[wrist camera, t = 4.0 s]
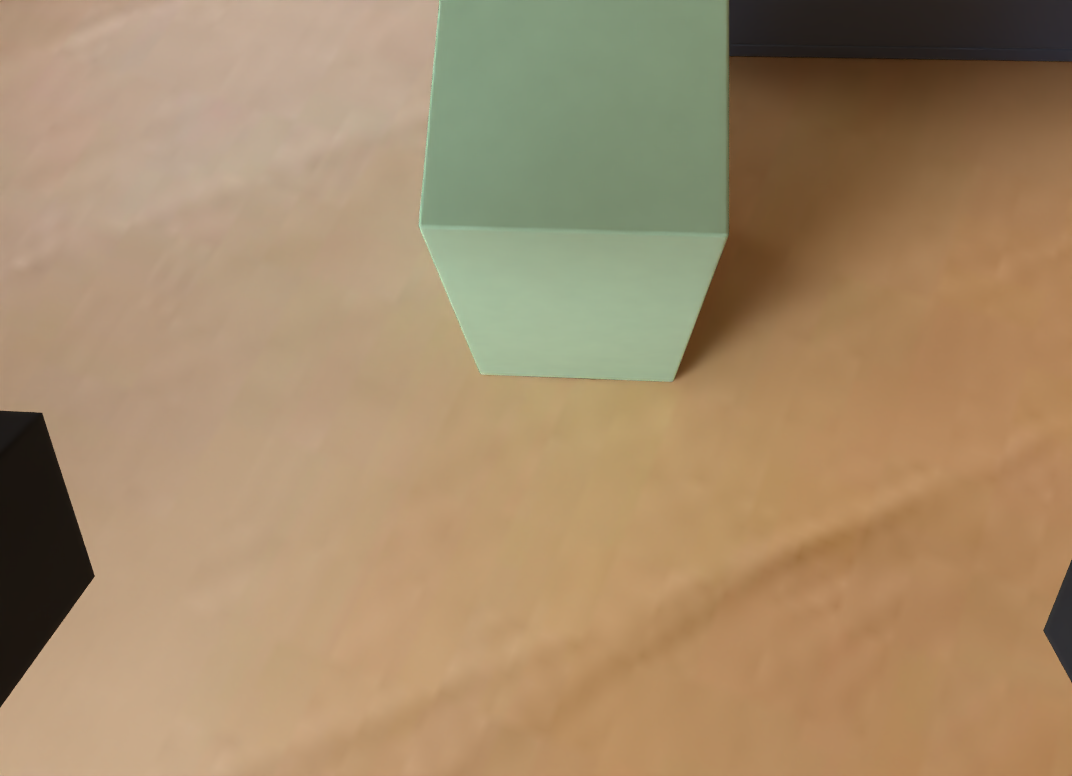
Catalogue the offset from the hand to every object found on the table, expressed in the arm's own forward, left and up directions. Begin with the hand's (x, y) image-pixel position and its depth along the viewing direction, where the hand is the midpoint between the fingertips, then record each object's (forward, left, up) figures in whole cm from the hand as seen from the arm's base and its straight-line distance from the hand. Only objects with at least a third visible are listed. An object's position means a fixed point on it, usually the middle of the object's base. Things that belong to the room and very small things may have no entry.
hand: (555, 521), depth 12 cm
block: (0, +8, -13) cm, 15 cm away
